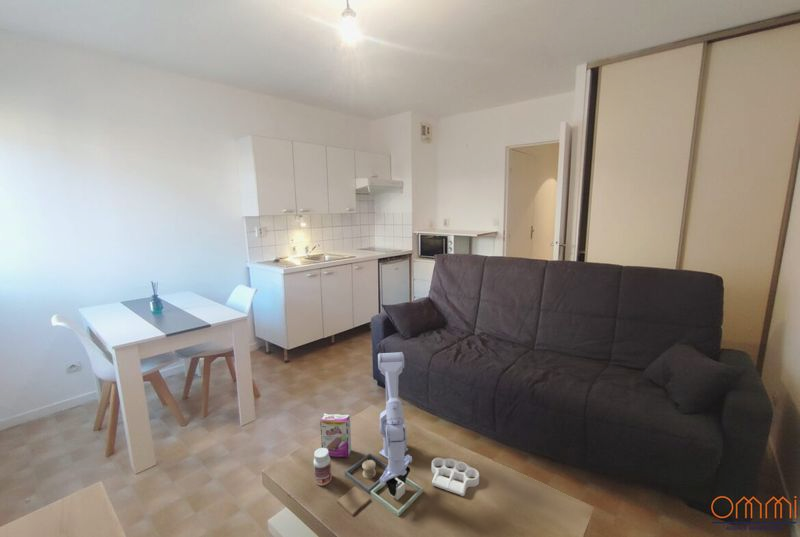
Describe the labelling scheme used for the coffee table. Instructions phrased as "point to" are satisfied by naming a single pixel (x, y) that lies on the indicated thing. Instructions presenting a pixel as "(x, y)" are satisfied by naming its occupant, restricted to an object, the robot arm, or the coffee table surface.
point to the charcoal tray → (359, 465)
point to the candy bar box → (336, 434)
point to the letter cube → (399, 489)
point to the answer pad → (353, 500)
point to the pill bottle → (322, 466)
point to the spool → (369, 469)
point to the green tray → (406, 505)
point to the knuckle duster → (453, 475)
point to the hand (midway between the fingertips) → (396, 490)
